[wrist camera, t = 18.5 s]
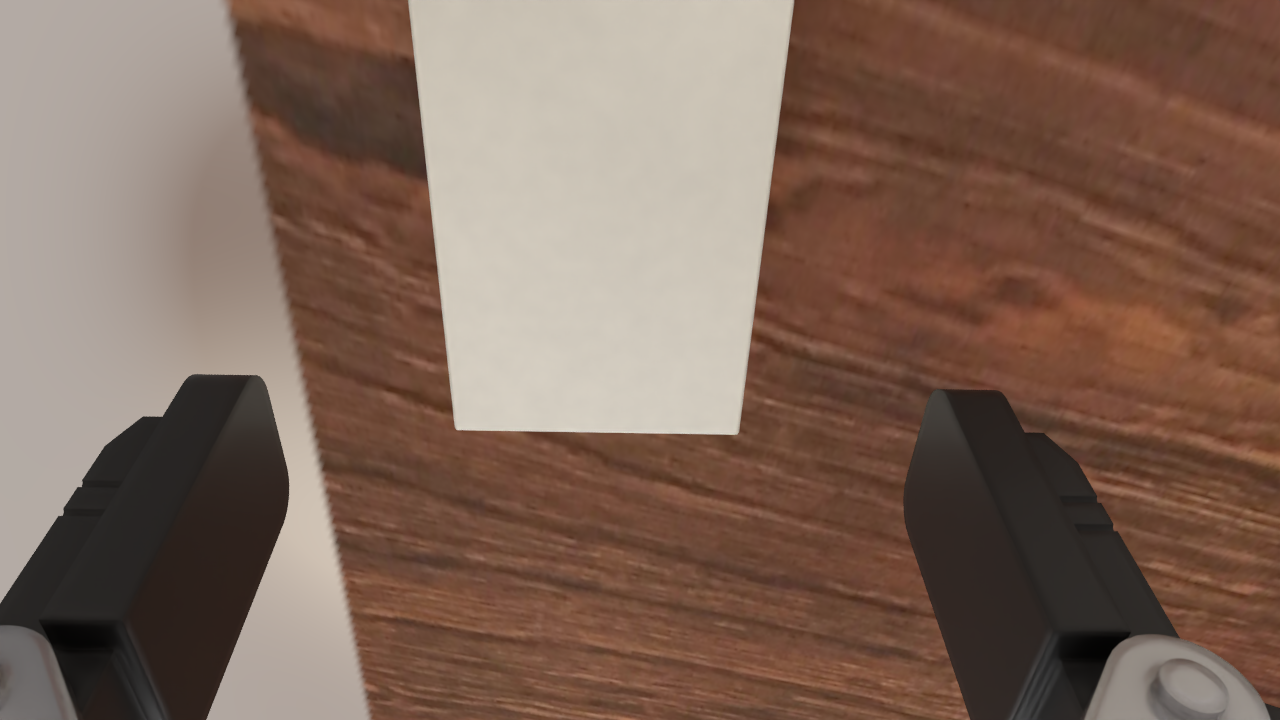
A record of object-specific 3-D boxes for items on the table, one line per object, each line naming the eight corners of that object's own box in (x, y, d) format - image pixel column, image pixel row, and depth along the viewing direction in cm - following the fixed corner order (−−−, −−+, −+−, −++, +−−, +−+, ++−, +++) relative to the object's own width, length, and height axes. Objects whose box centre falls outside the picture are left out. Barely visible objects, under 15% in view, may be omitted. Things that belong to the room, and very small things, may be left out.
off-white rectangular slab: (417, -94, 14) (399, -72, 13) (788, -81, 14) (802, -59, 13) (464, 386, 19) (454, 431, 18) (732, 391, 19) (738, 436, 18)
